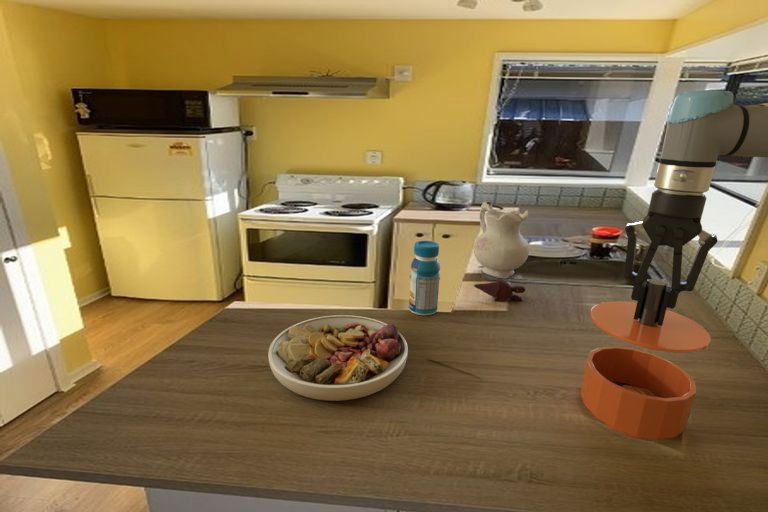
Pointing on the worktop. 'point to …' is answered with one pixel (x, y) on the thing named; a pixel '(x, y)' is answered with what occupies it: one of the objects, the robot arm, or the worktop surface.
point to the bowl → (338, 357)
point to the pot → (632, 408)
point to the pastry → (639, 390)
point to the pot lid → (651, 323)
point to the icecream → (501, 290)
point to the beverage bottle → (424, 278)
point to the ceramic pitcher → (501, 242)
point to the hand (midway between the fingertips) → (648, 319)
